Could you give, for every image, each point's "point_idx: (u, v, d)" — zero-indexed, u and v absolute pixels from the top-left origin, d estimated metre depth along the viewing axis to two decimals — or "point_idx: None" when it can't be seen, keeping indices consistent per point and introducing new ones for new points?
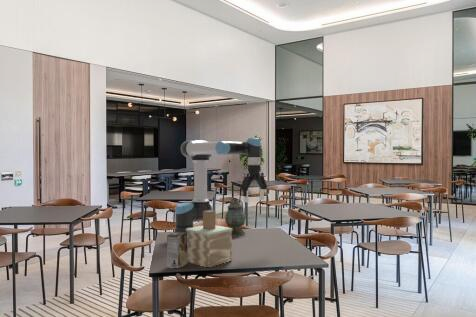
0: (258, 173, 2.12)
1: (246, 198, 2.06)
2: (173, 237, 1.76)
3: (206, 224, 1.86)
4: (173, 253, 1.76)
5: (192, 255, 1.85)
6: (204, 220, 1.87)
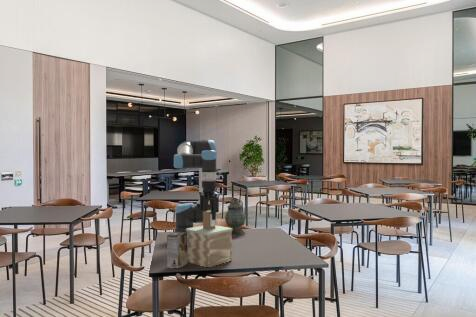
0: (211, 190, 1.85)
1: None
2: (173, 237, 1.76)
3: (206, 224, 1.86)
4: (173, 253, 1.76)
5: (192, 255, 1.85)
6: (204, 220, 1.87)
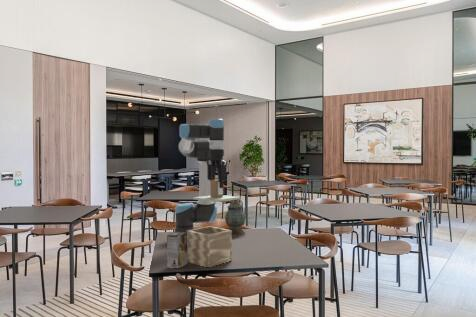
0: (218, 158, 1.85)
1: None
2: (173, 237, 1.76)
3: (214, 192, 1.86)
4: (173, 253, 1.76)
5: (192, 255, 1.85)
6: (211, 189, 1.87)
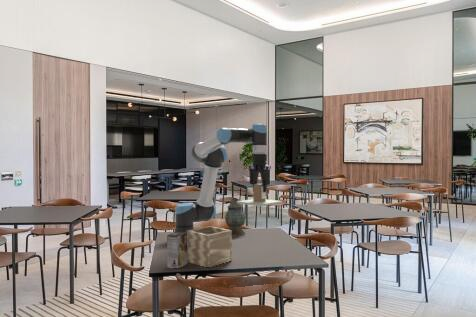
0: (262, 163, 1.88)
1: None
2: (173, 237, 1.76)
3: (257, 196, 1.89)
4: (173, 253, 1.76)
5: (192, 255, 1.85)
6: (255, 193, 1.90)
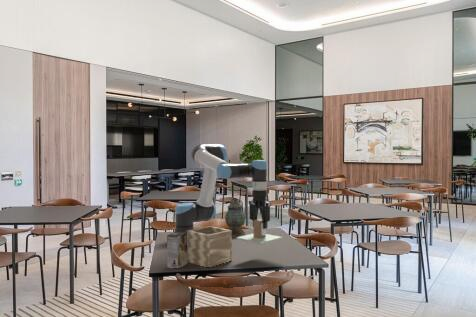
0: (262, 199, 1.88)
1: None
2: (173, 237, 1.76)
3: (257, 233, 1.89)
4: (173, 253, 1.76)
5: (192, 255, 1.85)
6: (255, 229, 1.90)
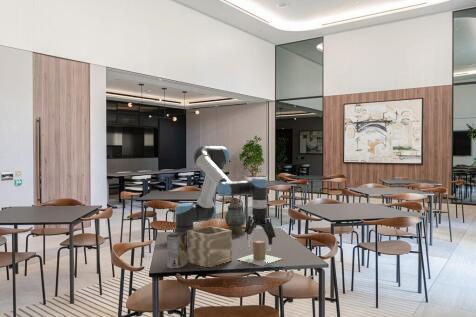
0: (261, 218, 1.88)
1: None
2: (173, 237, 1.76)
3: (257, 255, 1.89)
4: (173, 253, 1.76)
5: (192, 255, 1.85)
6: (254, 251, 1.90)
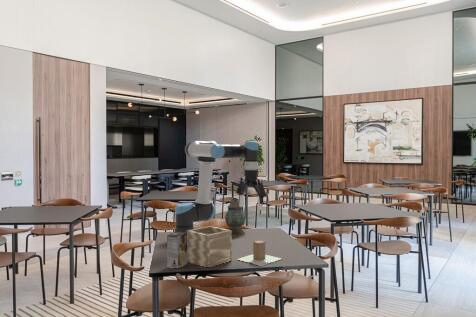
0: (253, 179, 1.96)
1: None
2: (173, 237, 1.76)
3: (257, 255, 1.89)
4: (173, 253, 1.76)
5: (192, 255, 1.85)
6: (254, 251, 1.90)
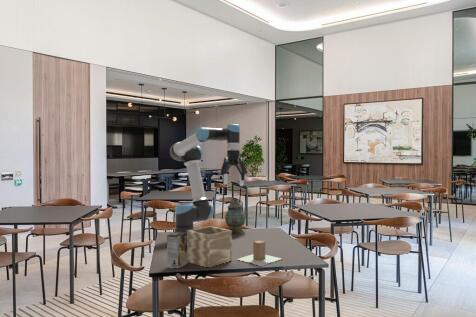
0: (235, 158, 2.17)
1: None
2: (173, 237, 1.76)
3: (257, 255, 1.89)
4: (173, 253, 1.76)
5: (192, 255, 1.85)
6: (254, 251, 1.90)
